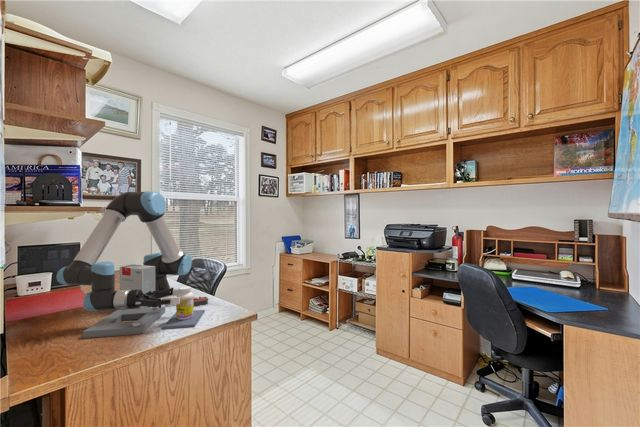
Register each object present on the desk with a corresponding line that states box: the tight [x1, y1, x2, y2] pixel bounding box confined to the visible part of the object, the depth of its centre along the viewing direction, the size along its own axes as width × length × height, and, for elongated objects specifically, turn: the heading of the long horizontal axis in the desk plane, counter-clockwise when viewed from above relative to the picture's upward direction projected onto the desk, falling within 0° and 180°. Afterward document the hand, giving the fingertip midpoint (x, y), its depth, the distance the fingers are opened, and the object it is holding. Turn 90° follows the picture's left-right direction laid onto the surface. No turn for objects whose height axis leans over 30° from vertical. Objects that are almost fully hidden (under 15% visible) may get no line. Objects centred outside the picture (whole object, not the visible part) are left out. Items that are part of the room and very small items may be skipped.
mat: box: [161, 309, 206, 330], centre depth 122 cm, size 18×12×1 cm, turn 10°
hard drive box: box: [119, 264, 155, 309], centre depth 141 cm, size 16×8×20 cm, turn 72°
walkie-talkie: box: [164, 295, 209, 308], centre depth 142 cm, size 9×4×20 cm
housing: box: [82, 306, 166, 339], centre depth 118 cm, size 24×20×4 cm
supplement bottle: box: [175, 285, 194, 320], centre depth 122 cm, size 7×7×13 cm
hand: (184, 295), depth 122 cm, fingers open, 13 cm apart
